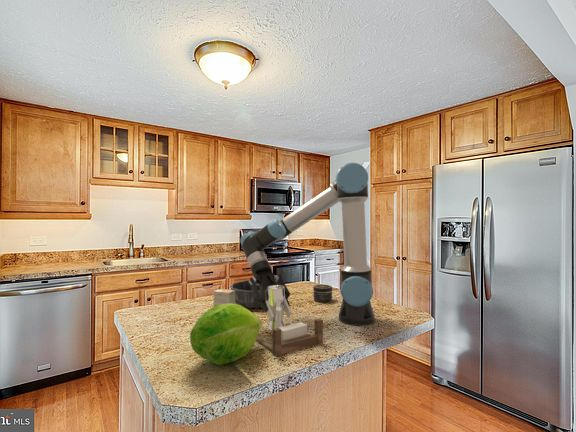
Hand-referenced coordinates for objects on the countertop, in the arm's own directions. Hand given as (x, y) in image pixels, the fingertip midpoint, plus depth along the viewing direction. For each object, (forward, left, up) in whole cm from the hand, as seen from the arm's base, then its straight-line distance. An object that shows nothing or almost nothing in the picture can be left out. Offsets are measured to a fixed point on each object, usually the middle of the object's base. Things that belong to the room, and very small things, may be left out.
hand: (280, 317), depth 111 cm
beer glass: (+3, -2, -5) cm, 6 cm away
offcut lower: (-5, +4, -7) cm, 10 cm away
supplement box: (+30, -13, -9) cm, 34 cm away
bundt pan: (+28, -42, -9) cm, 51 cm away
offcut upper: (-5, +4, -4) cm, 8 cm away
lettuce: (+11, +18, -9) cm, 23 cm away
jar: (-3, -58, -9) cm, 59 cm away
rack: (-1, 0, -9) cm, 9 cm away
